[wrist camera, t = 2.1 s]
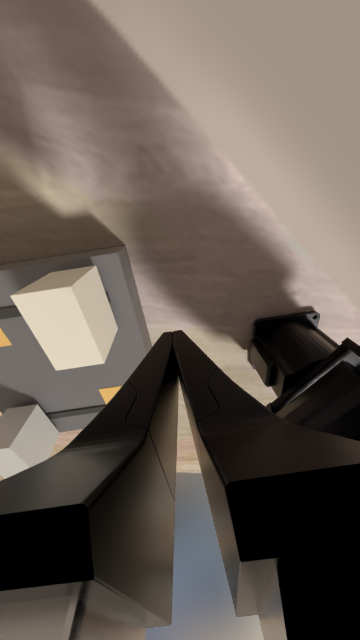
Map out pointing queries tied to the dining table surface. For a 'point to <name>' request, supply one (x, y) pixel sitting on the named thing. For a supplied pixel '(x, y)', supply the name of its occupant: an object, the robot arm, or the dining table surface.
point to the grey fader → (25, 439)
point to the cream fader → (69, 317)
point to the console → (76, 383)
